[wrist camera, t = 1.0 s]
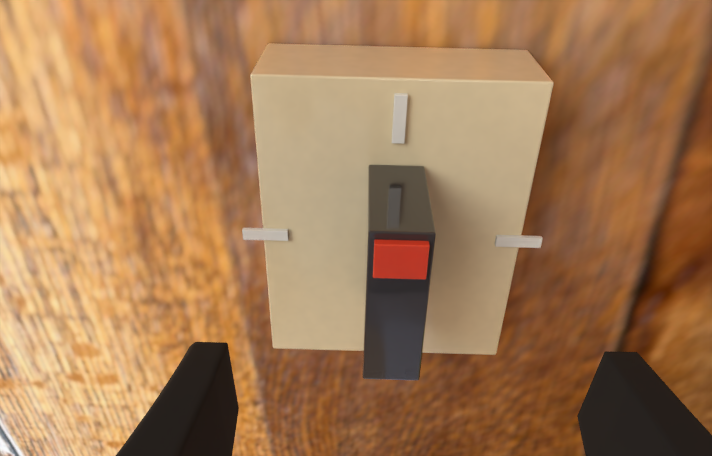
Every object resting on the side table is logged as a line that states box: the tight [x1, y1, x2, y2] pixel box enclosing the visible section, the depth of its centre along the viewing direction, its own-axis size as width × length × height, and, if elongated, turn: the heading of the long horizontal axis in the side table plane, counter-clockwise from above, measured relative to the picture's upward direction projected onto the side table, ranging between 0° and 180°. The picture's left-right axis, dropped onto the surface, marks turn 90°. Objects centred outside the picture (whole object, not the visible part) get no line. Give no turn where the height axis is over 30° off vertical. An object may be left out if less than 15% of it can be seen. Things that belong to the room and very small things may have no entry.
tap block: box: [242, 43, 554, 355], centre depth 19 cm, size 10×9×3 cm
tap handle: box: [363, 165, 436, 380], centre depth 16 cm, size 5×2×4 cm, turn 179°
